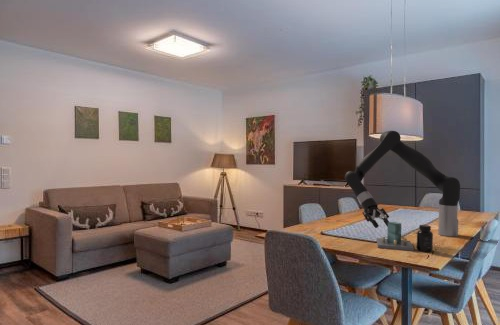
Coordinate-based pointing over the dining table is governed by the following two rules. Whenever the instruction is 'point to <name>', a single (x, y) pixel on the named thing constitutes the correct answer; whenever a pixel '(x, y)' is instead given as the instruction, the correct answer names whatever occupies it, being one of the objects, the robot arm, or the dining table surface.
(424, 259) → the dining table surface
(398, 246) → the base plate
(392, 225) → the teal block
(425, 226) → the supplement bottle
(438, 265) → the dining table surface
